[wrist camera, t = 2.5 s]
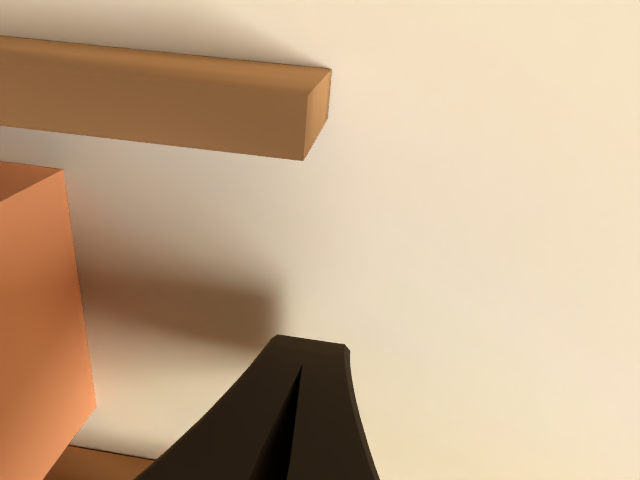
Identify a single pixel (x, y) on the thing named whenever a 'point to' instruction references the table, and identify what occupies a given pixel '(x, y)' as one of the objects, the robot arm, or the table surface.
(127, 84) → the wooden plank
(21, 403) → the block
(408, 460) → the table surface
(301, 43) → the table surface
